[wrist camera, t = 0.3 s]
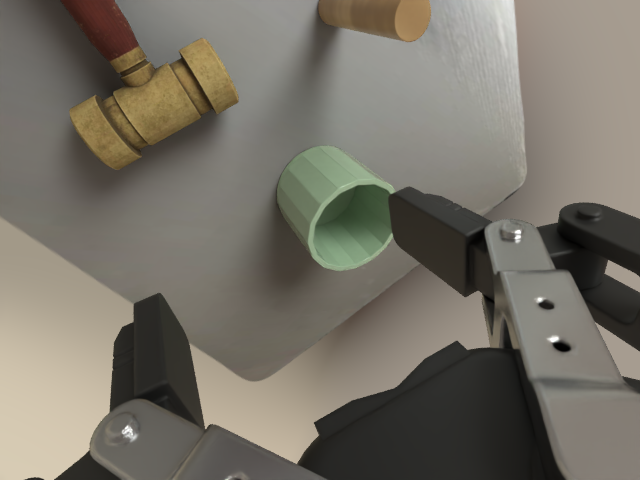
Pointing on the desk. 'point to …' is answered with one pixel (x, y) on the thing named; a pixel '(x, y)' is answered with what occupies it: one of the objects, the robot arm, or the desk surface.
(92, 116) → the gavel
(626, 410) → the robot arm
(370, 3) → the stick
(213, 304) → the desk surface
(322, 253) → the cup
